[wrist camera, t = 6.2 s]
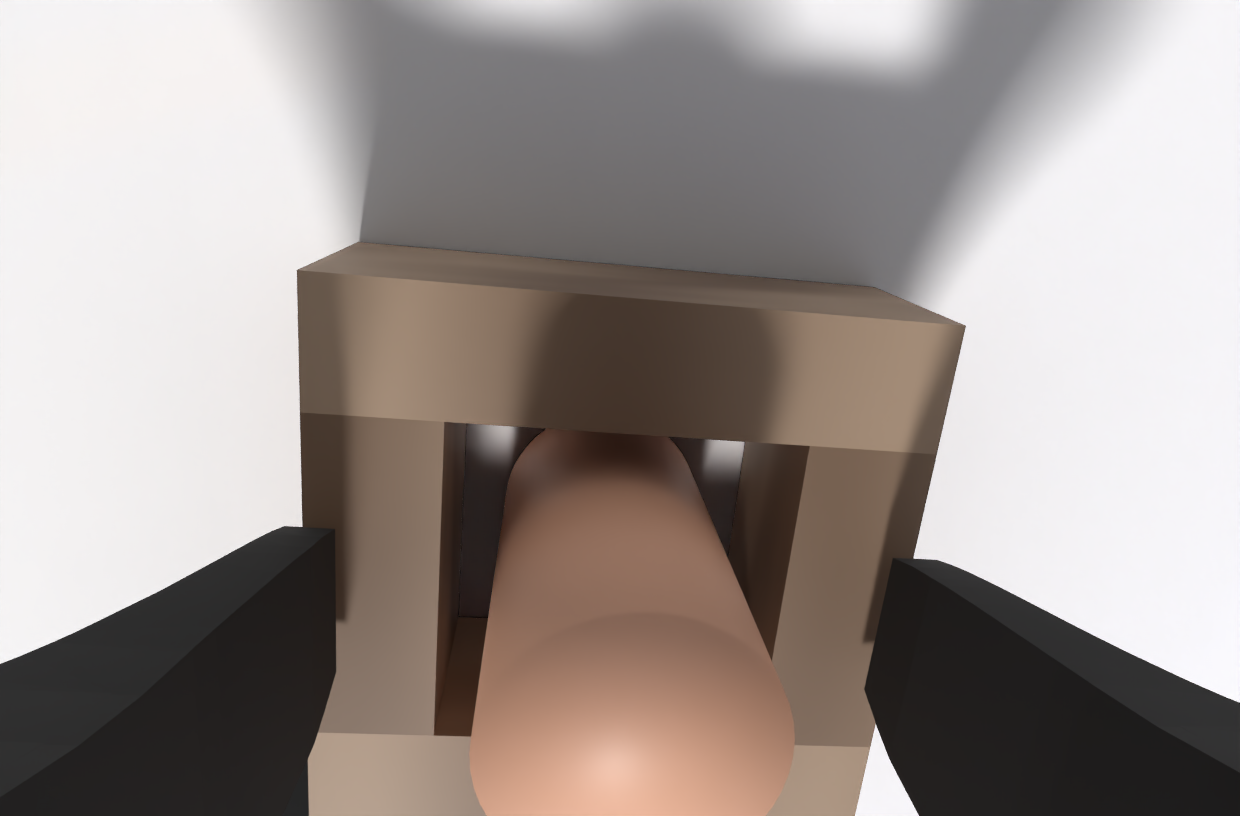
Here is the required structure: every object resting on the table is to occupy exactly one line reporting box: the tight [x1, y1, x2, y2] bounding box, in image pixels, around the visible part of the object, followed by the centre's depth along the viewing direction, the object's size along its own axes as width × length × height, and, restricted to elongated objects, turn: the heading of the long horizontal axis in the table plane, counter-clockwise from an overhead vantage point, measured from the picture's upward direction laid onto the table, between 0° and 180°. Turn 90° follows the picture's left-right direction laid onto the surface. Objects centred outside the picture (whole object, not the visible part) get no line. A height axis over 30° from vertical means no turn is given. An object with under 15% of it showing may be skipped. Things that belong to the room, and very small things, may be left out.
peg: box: [469, 429, 795, 816], centre depth 11 cm, size 3×3×6 cm
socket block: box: [297, 242, 966, 816], centre depth 12 cm, size 8×8×3 cm
